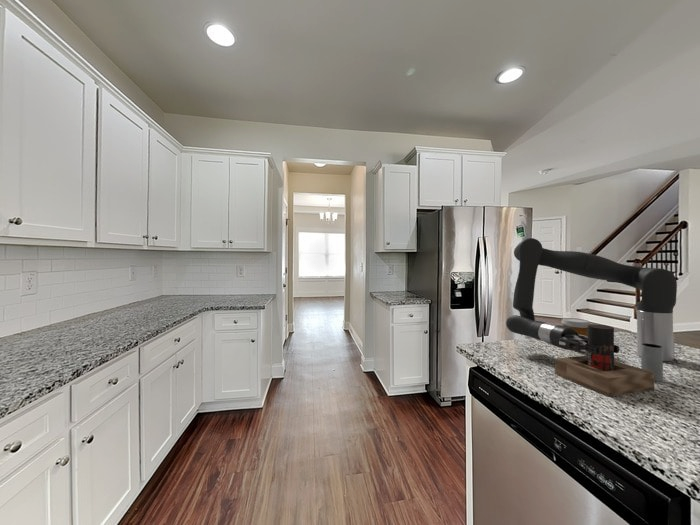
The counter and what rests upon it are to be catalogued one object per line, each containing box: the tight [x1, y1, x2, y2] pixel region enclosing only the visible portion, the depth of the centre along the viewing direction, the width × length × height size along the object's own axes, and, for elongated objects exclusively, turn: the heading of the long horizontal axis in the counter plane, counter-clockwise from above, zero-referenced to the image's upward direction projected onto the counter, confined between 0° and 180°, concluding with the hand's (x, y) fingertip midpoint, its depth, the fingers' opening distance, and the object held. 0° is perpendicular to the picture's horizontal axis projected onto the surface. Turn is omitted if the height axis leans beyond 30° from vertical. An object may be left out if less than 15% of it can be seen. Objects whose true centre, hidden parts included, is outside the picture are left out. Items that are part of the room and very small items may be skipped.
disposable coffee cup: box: [561, 317, 591, 352], centre depth 118 cm, size 10×10×12 cm
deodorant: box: [587, 323, 615, 371], centre depth 87 cm, size 6×6×15 cm
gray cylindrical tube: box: [640, 343, 664, 383], centre depth 88 cm, size 4×4×10 cm
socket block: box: [554, 354, 655, 398], centre depth 87 cm, size 16×16×5 cm
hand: (609, 350), depth 84 cm, fingers closed on deodorant, 6 cm apart
